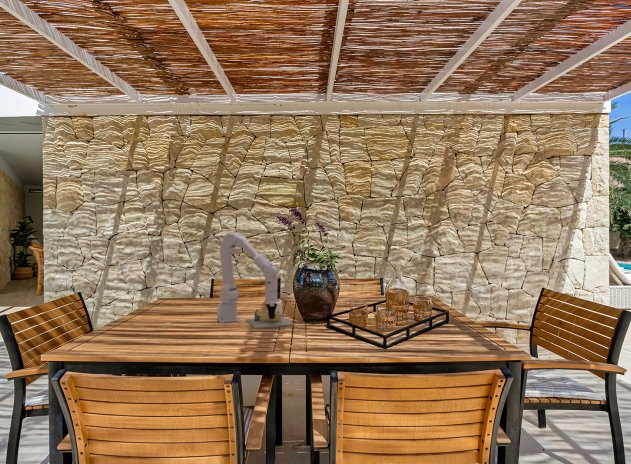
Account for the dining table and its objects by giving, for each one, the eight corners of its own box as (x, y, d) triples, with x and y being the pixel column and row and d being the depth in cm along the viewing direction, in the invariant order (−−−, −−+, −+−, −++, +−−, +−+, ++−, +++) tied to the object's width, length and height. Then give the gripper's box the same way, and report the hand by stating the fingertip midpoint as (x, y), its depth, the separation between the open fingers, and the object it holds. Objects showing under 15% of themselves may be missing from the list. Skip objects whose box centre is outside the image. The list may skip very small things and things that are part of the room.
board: (255, 329, 214) (255, 327, 214) (245, 320, 231) (245, 319, 231) (294, 325, 221) (294, 324, 221) (282, 317, 238) (282, 316, 238)
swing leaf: (280, 321, 226) (280, 312, 225) (253, 320, 227) (253, 311, 227) (281, 320, 228) (281, 311, 228) (255, 319, 230) (255, 310, 230)
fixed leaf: (255, 321, 227) (255, 310, 227) (253, 320, 229) (253, 309, 229) (281, 319, 232) (281, 308, 232) (279, 318, 234) (279, 307, 234)
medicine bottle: (282, 313, 249) (282, 291, 249) (279, 316, 242) (280, 293, 242) (269, 313, 250) (269, 291, 250) (266, 316, 243) (266, 293, 243)
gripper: (280, 292, 218) (280, 321, 219) (278, 288, 233) (278, 315, 233) (265, 293, 217) (265, 322, 218) (264, 288, 232) (264, 315, 232)
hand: (271, 318), depth 225 cm, fingers closed, pressing on swing leaf
